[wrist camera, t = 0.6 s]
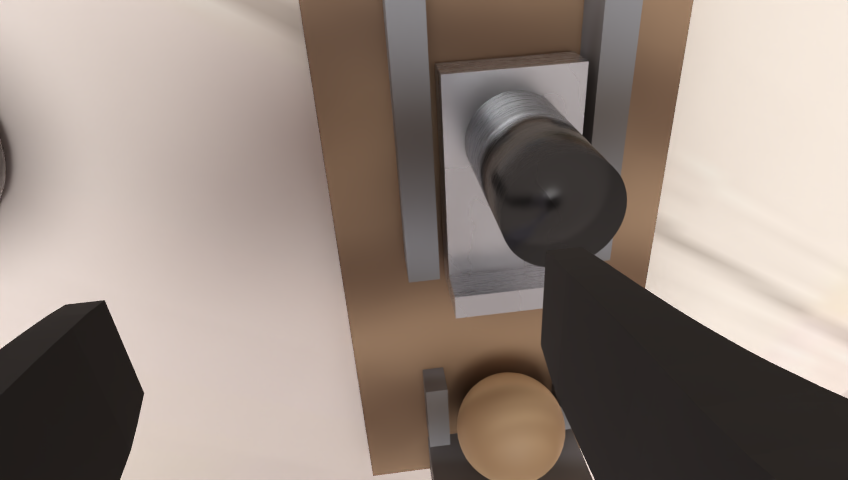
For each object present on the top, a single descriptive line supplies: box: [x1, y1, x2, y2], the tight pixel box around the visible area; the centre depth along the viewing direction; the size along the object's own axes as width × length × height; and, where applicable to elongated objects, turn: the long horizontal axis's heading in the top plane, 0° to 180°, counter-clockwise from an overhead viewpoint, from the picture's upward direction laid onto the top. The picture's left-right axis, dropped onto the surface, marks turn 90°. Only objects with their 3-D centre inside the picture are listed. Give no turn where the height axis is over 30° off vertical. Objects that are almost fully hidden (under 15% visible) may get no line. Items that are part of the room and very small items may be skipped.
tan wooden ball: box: [457, 372, 565, 480], centre depth 22 cm, size 4×4×4 cm
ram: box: [435, 51, 627, 318], centre depth 16 cm, size 7×4×6 cm, turn 3°
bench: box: [299, 0, 693, 480], centre depth 20 cm, size 20×11×4 cm, turn 3°
